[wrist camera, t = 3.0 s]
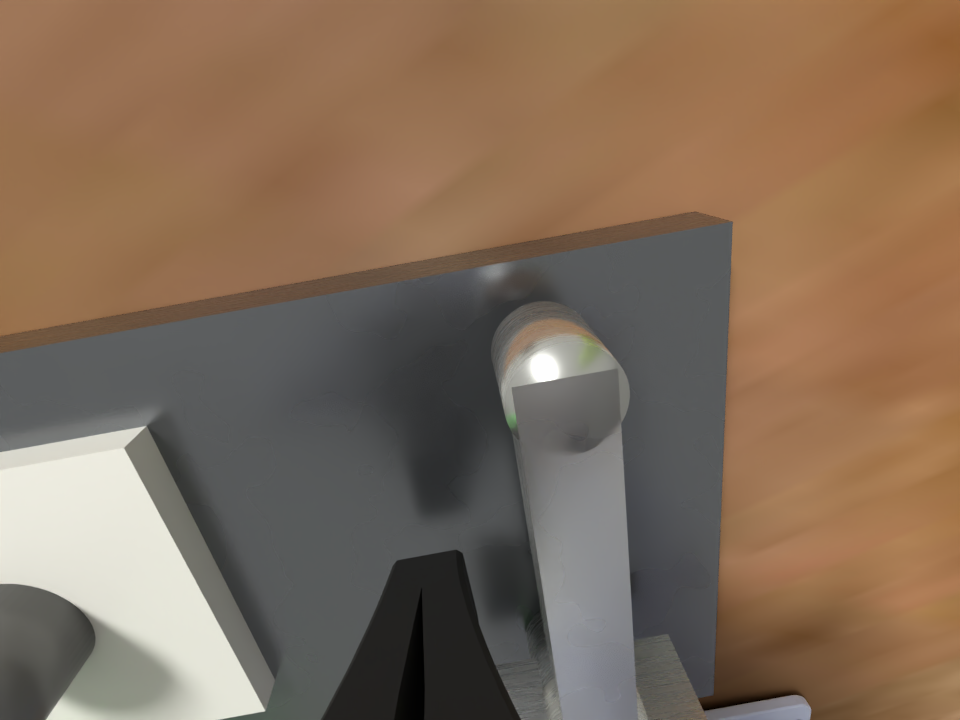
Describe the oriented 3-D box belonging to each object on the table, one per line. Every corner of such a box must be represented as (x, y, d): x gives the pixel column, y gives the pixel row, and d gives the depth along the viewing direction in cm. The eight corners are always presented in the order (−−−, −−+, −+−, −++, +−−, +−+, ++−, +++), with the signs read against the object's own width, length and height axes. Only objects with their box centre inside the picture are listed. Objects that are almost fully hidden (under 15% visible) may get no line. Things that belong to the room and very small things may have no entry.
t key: (653, 646, 14) (706, 771, 11) (496, 674, 14) (509, 806, 11) (640, 265, 10) (722, 316, 7) (411, 307, 9) (400, 374, 7)
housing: (690, 649, 16) (713, 694, 15) (57, 763, 16) (22, 819, 15) (695, 211, 11) (732, 221, 9) (-270, 384, 11) (-374, 420, 9)
